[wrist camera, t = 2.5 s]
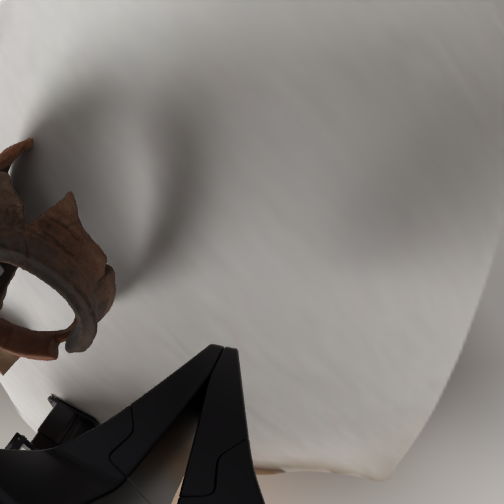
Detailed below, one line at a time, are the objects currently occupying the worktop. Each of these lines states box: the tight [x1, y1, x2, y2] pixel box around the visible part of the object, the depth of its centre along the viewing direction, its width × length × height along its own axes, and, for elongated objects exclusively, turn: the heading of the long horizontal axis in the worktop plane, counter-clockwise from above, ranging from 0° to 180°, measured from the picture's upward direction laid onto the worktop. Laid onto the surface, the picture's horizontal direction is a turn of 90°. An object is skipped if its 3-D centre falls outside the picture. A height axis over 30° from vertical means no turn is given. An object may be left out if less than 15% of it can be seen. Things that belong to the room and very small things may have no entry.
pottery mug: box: [0, 138, 116, 361], centre depth 11 cm, size 12×10×8 cm
